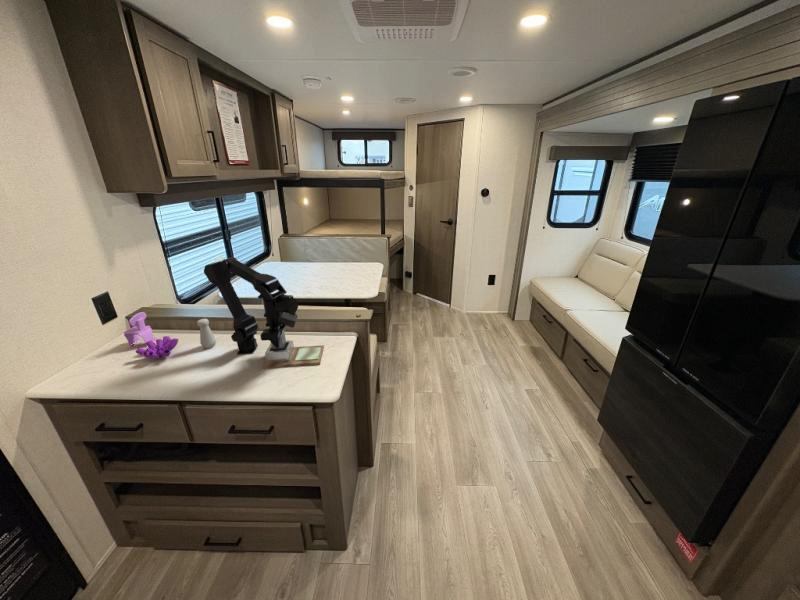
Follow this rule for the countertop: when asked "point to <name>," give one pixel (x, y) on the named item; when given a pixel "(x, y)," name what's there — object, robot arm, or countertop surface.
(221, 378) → the countertop surface
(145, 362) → the countertop surface
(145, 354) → the purple coral
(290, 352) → the socket
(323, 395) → the countertop surface
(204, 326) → the salt shaker
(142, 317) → the toy chair
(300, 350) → the stand board
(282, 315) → the robot arm
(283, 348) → the steel key
